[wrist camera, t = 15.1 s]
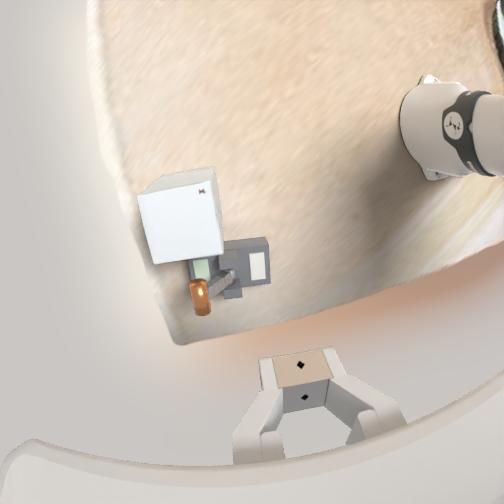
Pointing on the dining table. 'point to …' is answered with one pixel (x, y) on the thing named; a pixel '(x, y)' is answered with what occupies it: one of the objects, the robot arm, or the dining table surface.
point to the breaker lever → (209, 290)
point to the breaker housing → (236, 265)
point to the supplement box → (182, 216)
